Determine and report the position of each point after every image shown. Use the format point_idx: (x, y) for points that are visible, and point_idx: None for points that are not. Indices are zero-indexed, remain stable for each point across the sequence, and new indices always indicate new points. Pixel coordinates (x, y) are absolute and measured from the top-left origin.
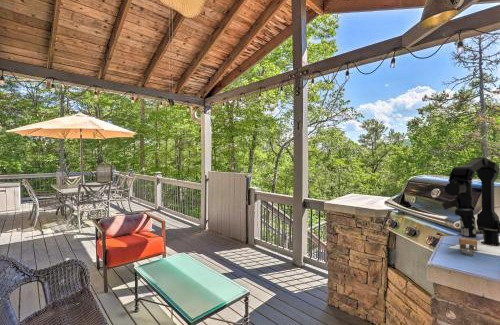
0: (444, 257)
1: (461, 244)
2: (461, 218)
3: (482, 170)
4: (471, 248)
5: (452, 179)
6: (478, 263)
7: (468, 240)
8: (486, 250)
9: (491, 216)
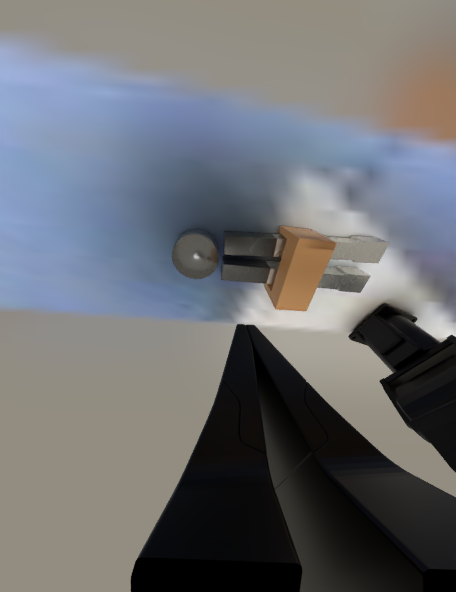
0: (57, 130)
1: None
2: (200, 436)
3: None
4: (231, 274)
5: None
6: (87, 275)
7: (284, 281)
8: None
9: None
